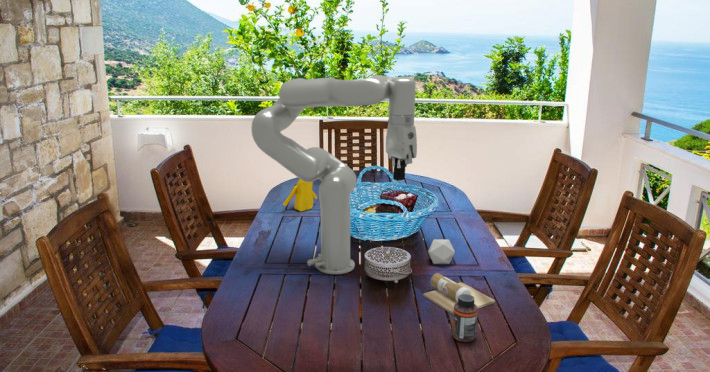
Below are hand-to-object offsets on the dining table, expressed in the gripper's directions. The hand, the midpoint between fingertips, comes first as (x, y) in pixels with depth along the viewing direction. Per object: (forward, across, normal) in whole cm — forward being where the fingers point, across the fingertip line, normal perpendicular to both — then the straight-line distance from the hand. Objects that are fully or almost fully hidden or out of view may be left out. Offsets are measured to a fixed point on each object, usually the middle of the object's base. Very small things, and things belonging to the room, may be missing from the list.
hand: (399, 179), depth 175 cm
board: (+31, -24, -5) cm, 40 cm away
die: (+31, -1, -18) cm, 36 cm away
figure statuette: (+31, +71, -4) cm, 78 cm away
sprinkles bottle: (+28, -15, -4) cm, 32 cm away
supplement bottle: (+31, -40, +8) cm, 51 cm away
